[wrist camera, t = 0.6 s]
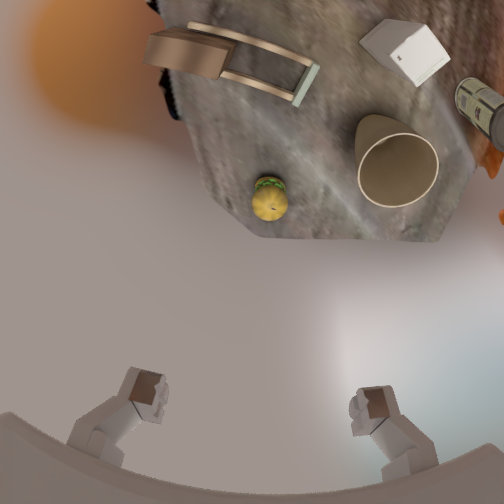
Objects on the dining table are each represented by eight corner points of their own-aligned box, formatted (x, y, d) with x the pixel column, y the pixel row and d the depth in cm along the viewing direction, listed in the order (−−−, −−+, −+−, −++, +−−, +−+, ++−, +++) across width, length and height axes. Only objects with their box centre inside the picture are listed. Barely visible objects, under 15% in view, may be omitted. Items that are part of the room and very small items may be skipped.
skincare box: (380, 65, 36) (416, 91, 26) (355, 40, 33) (386, 55, 23) (408, 41, 30) (453, 61, 20) (385, 15, 27) (426, 23, 18)
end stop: (290, 97, 44) (291, 104, 42) (311, 59, 37) (313, 63, 35) (296, 100, 44) (298, 107, 42) (317, 62, 38) (320, 66, 35)
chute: (179, 62, 39) (175, 65, 38) (192, 21, 32) (189, 21, 31) (290, 97, 44) (291, 101, 43) (311, 59, 37) (312, 61, 36)
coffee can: (490, 110, 34) (526, 143, 26) (460, 123, 40) (494, 159, 31) (481, 71, 29) (522, 99, 20) (448, 84, 34) (487, 113, 26)
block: (167, 50, 37) (142, 63, 30) (174, 27, 33) (149, 34, 26) (228, 65, 40) (216, 80, 33) (237, 42, 36) (227, 50, 29)
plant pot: (391, 165, 53) (415, 214, 43) (331, 150, 52) (345, 199, 43) (415, 110, 41) (452, 150, 31) (350, 87, 41) (376, 121, 31)
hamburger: (251, 189, 63) (246, 225, 56) (257, 164, 57) (253, 200, 50) (282, 196, 64) (282, 233, 57) (291, 172, 58) (293, 208, 51)
